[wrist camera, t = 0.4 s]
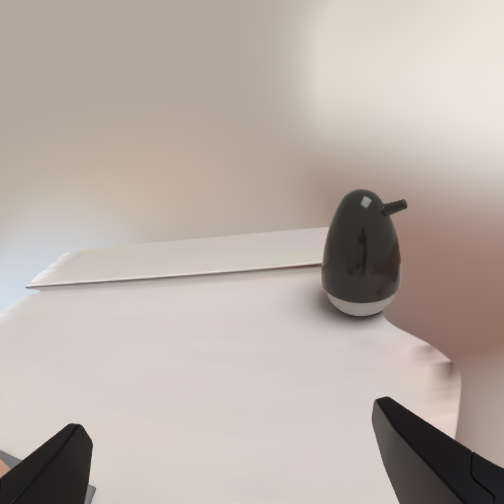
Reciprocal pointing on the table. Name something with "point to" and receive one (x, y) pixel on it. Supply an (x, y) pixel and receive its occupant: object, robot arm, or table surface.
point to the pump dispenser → (362, 254)
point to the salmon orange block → (3, 468)
